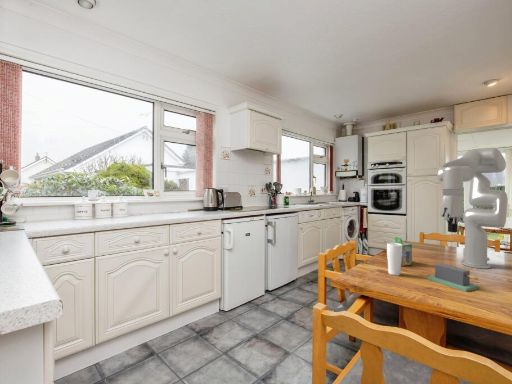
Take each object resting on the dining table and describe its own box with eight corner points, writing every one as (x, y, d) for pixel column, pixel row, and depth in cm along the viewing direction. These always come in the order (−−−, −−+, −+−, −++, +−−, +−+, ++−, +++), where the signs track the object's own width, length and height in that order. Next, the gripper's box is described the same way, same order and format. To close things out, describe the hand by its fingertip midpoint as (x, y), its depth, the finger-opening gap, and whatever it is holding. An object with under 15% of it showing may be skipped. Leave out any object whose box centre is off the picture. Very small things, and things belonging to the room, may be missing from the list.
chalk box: (412, 265, 144) (412, 238, 144) (398, 266, 142) (399, 239, 141) (399, 260, 153) (399, 235, 153) (386, 261, 151) (386, 236, 150)
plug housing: (441, 276, 123) (441, 263, 122) (480, 287, 108) (480, 273, 108) (434, 277, 121) (435, 264, 121) (474, 289, 106) (474, 274, 106)
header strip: (439, 276, 125) (439, 265, 125) (478, 288, 111) (478, 276, 111) (427, 279, 122) (427, 268, 122) (465, 291, 107) (466, 279, 107)
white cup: (400, 272, 131) (400, 243, 131) (403, 277, 124) (403, 245, 124) (385, 271, 133) (386, 242, 133) (387, 275, 127) (388, 244, 126)
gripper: (453, 192, 128) (453, 229, 129) (434, 193, 122) (434, 232, 122) (471, 192, 121) (471, 231, 122) (451, 193, 115) (451, 235, 116)
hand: (452, 231), depth 122 cm, fingers closed
